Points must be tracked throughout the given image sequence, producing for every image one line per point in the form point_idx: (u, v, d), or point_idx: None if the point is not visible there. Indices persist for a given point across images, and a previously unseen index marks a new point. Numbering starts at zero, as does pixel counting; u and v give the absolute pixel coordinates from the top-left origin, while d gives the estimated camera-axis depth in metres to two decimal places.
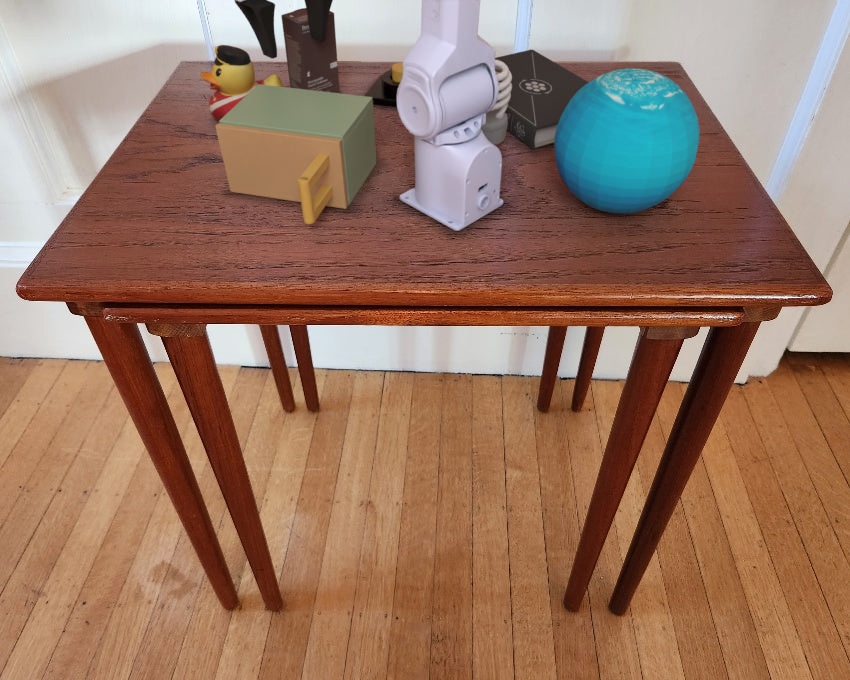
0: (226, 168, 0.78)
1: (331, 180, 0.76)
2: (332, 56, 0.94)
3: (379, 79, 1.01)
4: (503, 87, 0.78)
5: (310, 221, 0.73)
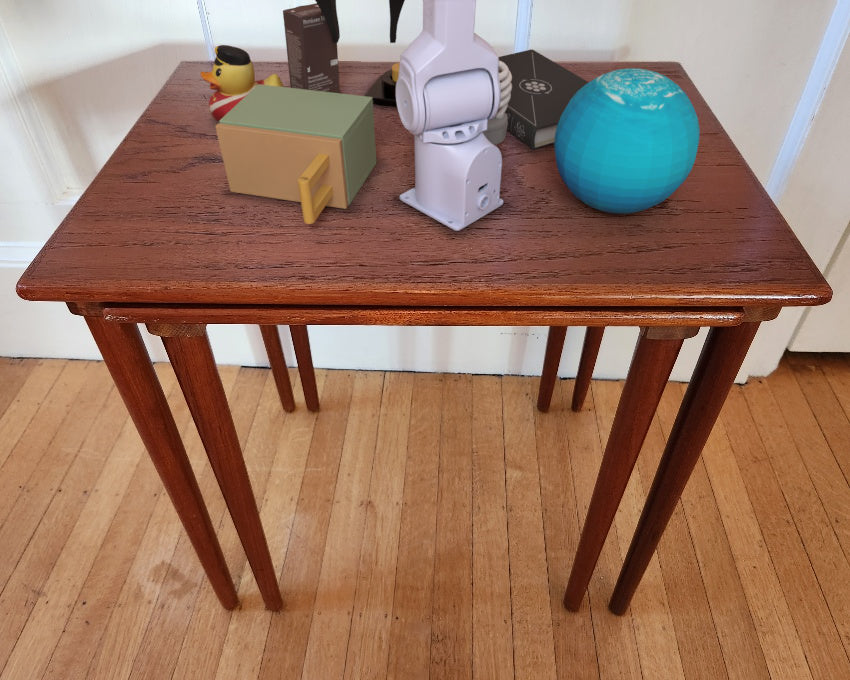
0: (226, 168, 0.78)
1: (331, 180, 0.76)
2: (333, 53, 0.95)
3: (379, 79, 1.01)
4: (503, 87, 0.78)
5: (310, 221, 0.73)
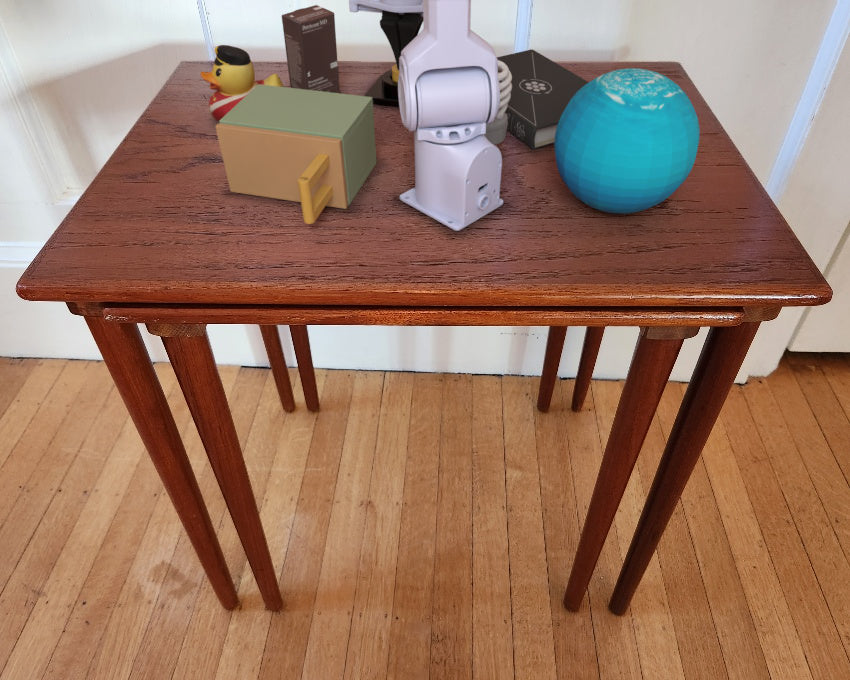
0: (226, 168, 0.78)
1: (331, 180, 0.76)
2: (332, 56, 0.94)
3: (379, 79, 1.01)
4: (503, 87, 0.78)
5: (310, 221, 0.73)
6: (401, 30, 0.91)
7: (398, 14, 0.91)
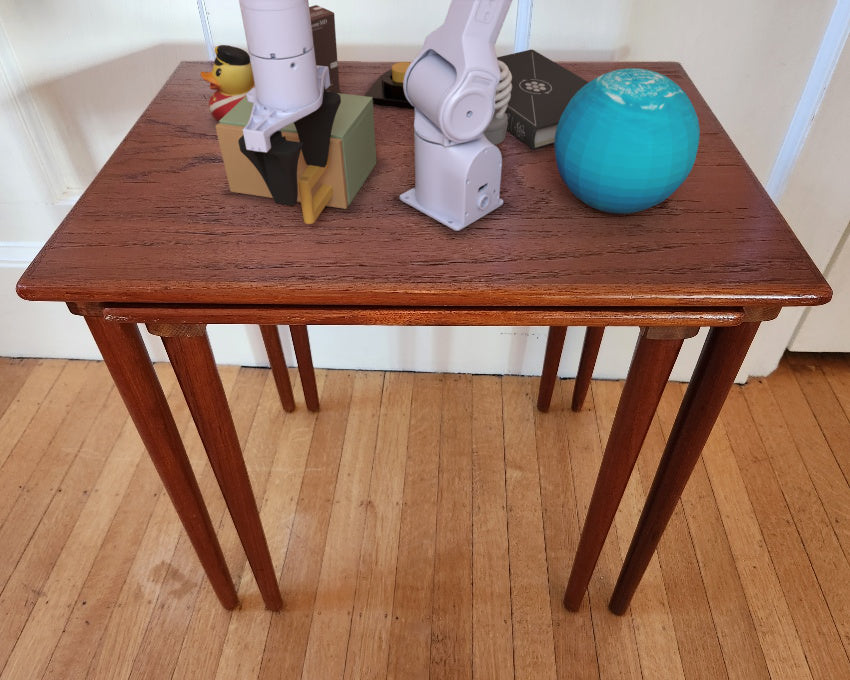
0: (226, 168, 0.78)
1: (331, 180, 0.76)
2: (332, 56, 0.94)
3: (379, 79, 1.01)
4: (503, 87, 0.78)
5: (310, 221, 0.73)
6: (333, 112, 0.67)
7: None
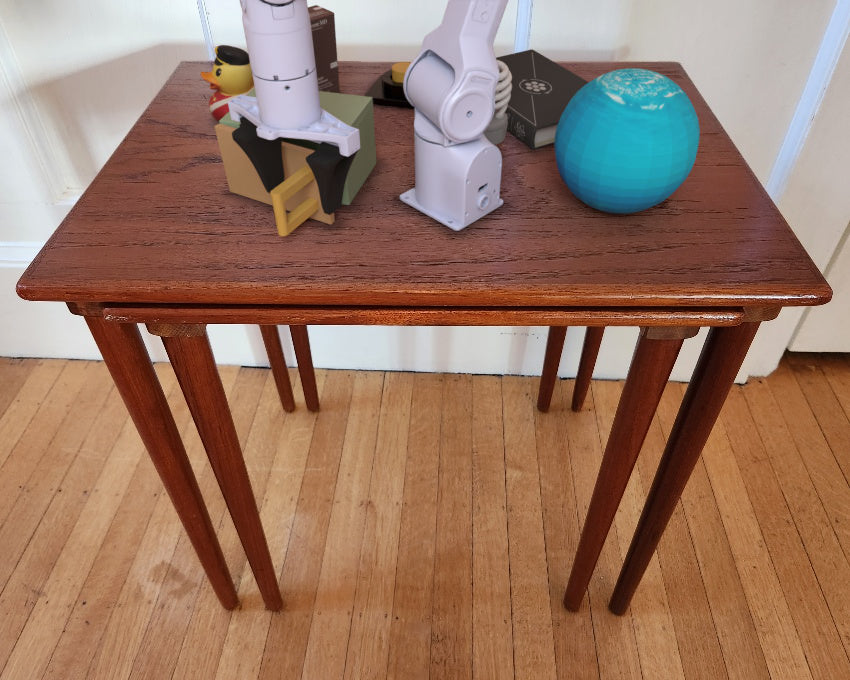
0: (225, 168, 0.78)
1: (317, 194, 0.73)
2: (332, 56, 0.94)
3: (379, 79, 1.01)
4: (503, 87, 0.78)
5: (283, 233, 0.71)
6: None
7: None
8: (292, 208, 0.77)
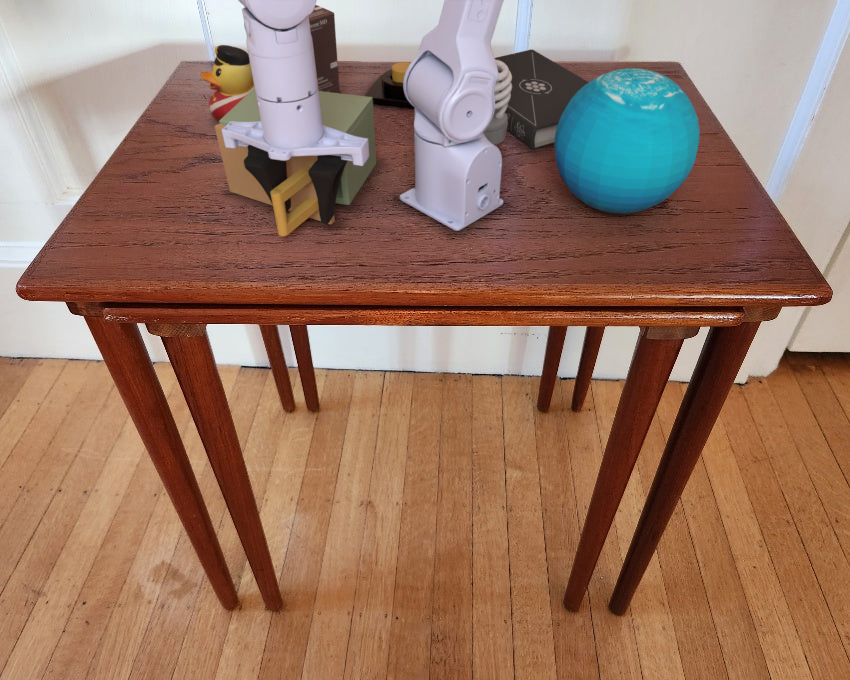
0: (225, 168, 0.78)
1: None
2: (332, 56, 0.94)
3: (379, 79, 1.01)
4: (503, 87, 0.78)
5: (283, 233, 0.71)
6: None
7: None
8: (292, 208, 0.77)
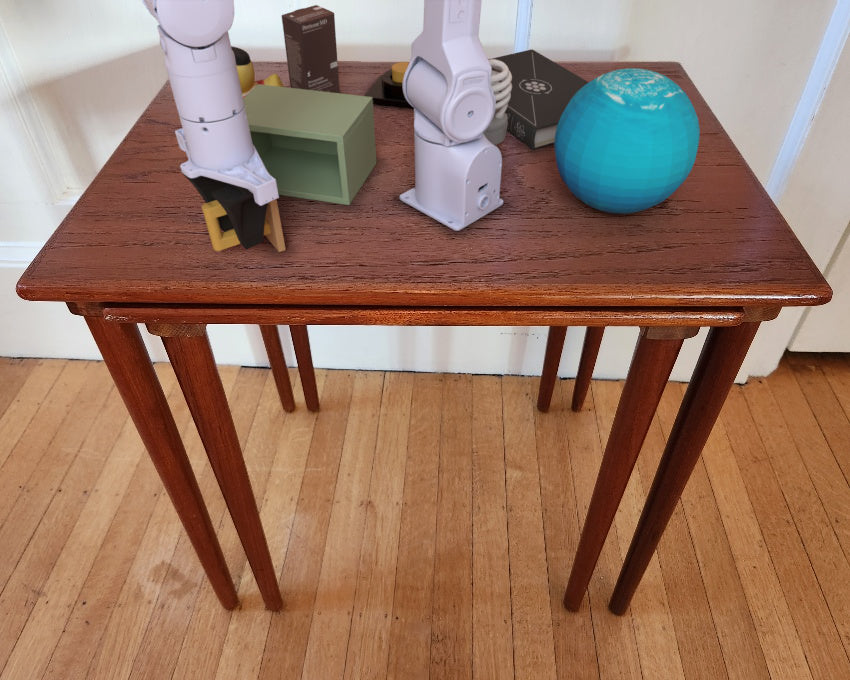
0: None
1: (268, 218, 0.70)
2: (332, 56, 0.94)
3: (379, 79, 1.01)
4: (503, 87, 0.78)
5: (215, 248, 0.69)
6: None
7: None
8: None
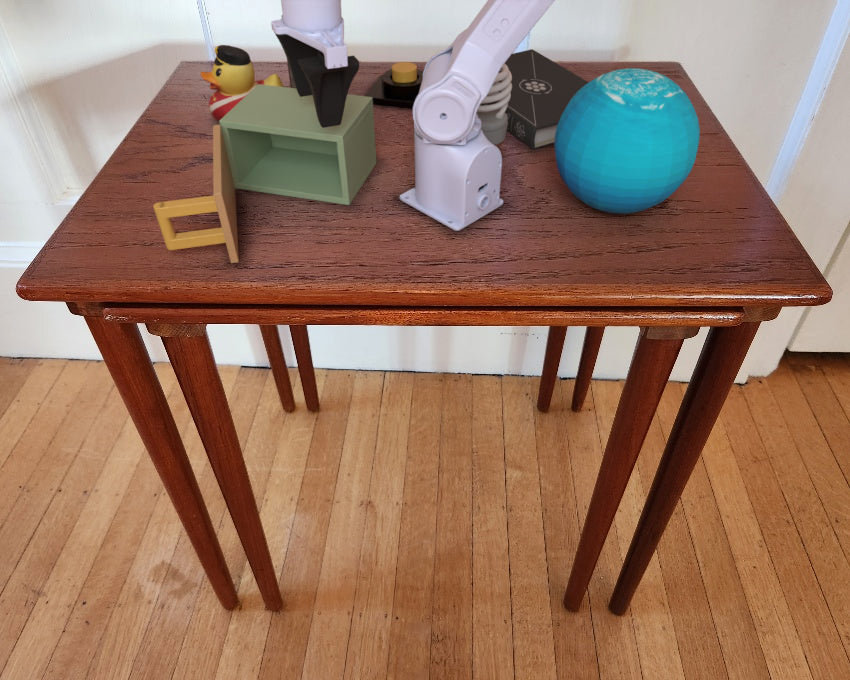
0: None
1: None
2: None
3: (379, 79, 1.01)
4: (503, 87, 0.78)
5: (167, 247, 0.69)
6: None
7: None
8: None
